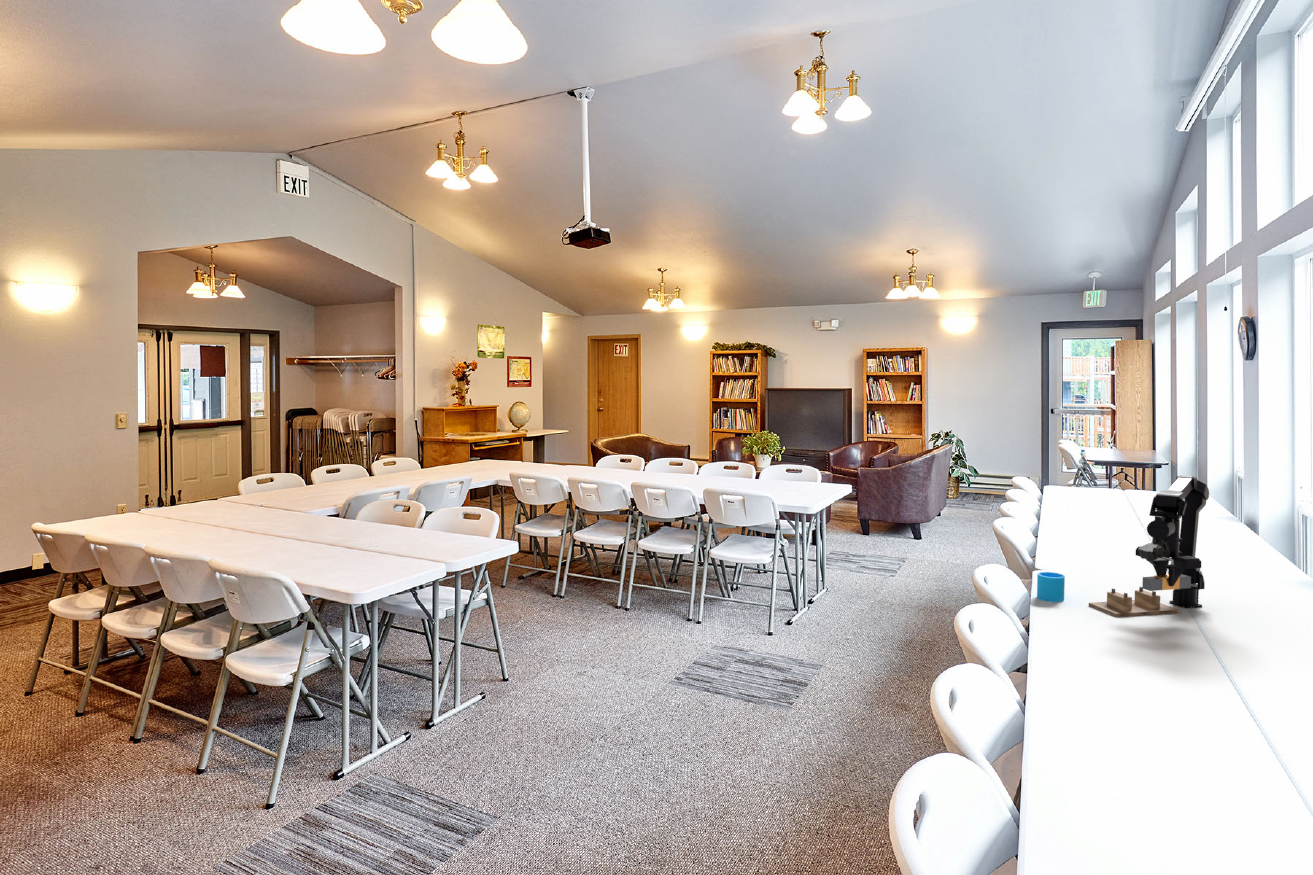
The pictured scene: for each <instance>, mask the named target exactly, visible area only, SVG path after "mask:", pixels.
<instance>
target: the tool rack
mask: <svg viewBox="0 0 1313 875" xmlns="http://www.w3.org/2000/svg"><path fill="white" fill-rule="evenodd" d="M1138 588H1139V589H1137V590H1134V599H1133V597H1131V596H1129V594H1128V593H1127V592H1124V593H1121V592H1117V591H1116V588H1111V591H1107V592H1106V601H1098V602H1097V601H1095V602H1088V607H1090V608H1093V609H1095V610H1098V611H1101V612H1102V613H1103V612H1104V613H1105V614H1107V615H1110V616H1113V617H1116V618H1118V617H1119V618H1120V617H1121V618H1122V617H1133V616H1134V617H1135V616H1136V617H1137V616H1150V615H1164V614H1165V615H1166V614H1178V613H1180V609H1179V608H1175V607H1173V606H1171V605H1166V604H1164V603H1161V595H1159V594H1157V591H1149V590H1146V589H1143V588H1142V586H1139V587H1138Z"/></svg>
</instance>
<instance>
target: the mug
mask: <svg viewBox="0 0 1313 875" xmlns="http://www.w3.org/2000/svg"><path fill="white" fill-rule="evenodd" d="M1065 577H1066V576H1065V575H1064V574H1062V573H1058V572H1049V571H1042V572H1037V576H1036V579H1037V582H1036V598H1037V599H1038V600H1040V601H1043V602H1049V603H1062V602H1064V601H1065V588H1066V587H1065V582H1066V579H1065Z"/></svg>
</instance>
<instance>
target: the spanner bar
mask: <svg viewBox="0 0 1313 875" xmlns="http://www.w3.org/2000/svg"><path fill="white" fill-rule="evenodd" d="M1141 587H1142V588H1143V590H1145V591H1148V592H1152V591H1155V592H1157V591H1167V590H1168V591H1169V590H1172V591H1173V590H1174V589H1184V588H1191V577H1190V576H1187V575H1183V574H1181V575H1180V577H1179V578H1178V580H1177V581H1176V583H1175V584H1174V586H1169V575H1168V574H1166V575H1157V574H1156V575H1153V576H1142V585H1141Z"/></svg>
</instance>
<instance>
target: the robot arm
mask: <svg viewBox="0 0 1313 875" xmlns="http://www.w3.org/2000/svg"><path fill="white" fill-rule="evenodd" d="M1209 498H1210V490H1209V487H1208V485H1207V484H1206V483H1203V482H1202V481H1201V480H1198V478H1197V477H1196V476H1194V475H1177V476H1176V479H1175V481H1174V482H1173V483H1172V485H1170V487H1169V488H1168V489H1166V490H1161V491H1158V493H1157V492H1156V495H1154V496H1153V499H1152V502H1151V507H1150V511H1149V516H1150V517H1154V520H1152V521H1151V522H1149V523H1147V526H1146V532H1147V534H1148V535H1149V536H1150V537H1151V538H1152V542H1149V543H1146V544H1144V545H1141V546H1137V547H1136V548H1135V556H1137V557H1139V558H1140V559H1143V560H1146V561H1147V562H1148V563H1150V565H1152V566H1153V568H1154V571H1155V574H1156V575H1169V586H1174V584H1175V583H1176V581H1177V580H1178V578H1179V577H1180V575H1181V574H1183V575H1187V576H1190V577H1191V588H1184V589H1172V600H1169V603H1171V604H1173V605H1176V606H1179V607H1182V608H1185V609H1186V608H1201V607H1203V604H1200V603H1199V591H1200V590H1204V589H1205V578H1204V575H1203V573H1202V571H1201V569H1202V560H1201V559H1200V558H1198V557H1196V550H1197V539H1198V527H1199V517H1200V516H1199V515H1200V512H1201V511H1202V510H1203V509H1204V508H1205V506H1206V504H1207V500H1209ZM1167 573H1168V574H1167Z"/></svg>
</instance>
